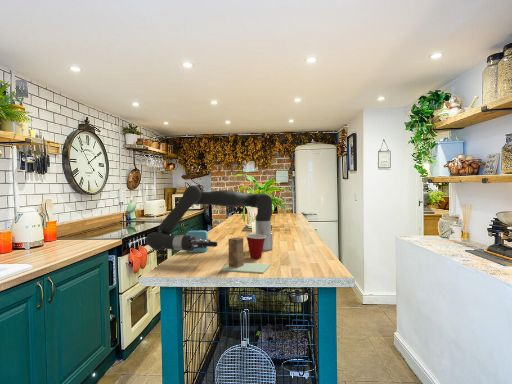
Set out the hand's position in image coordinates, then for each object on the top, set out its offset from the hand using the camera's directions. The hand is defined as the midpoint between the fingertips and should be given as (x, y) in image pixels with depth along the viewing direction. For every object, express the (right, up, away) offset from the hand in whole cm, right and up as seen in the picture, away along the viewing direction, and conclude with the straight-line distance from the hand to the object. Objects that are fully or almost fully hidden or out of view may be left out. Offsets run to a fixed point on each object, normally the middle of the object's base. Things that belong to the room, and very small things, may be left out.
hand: (216, 244), depth 154 cm
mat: (+14, -10, -4) cm, 18 cm away
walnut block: (+10, -10, -3) cm, 14 cm away
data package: (-15, -10, +34) cm, 39 cm away
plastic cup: (+19, -10, +16) cm, 27 cm away
